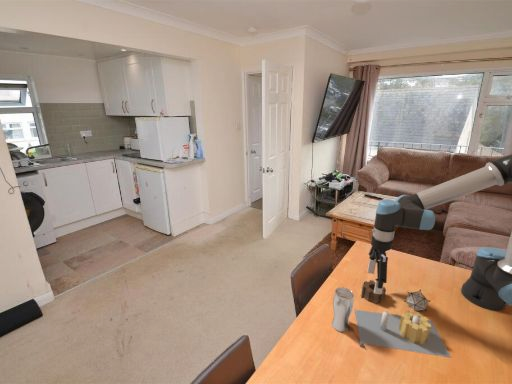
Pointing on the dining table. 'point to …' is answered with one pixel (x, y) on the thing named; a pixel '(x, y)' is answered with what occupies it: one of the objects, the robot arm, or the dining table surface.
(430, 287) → the dining table surface
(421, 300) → the game die
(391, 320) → the gear board
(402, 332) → the gear
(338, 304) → the beer glass
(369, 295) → the walnut gear
